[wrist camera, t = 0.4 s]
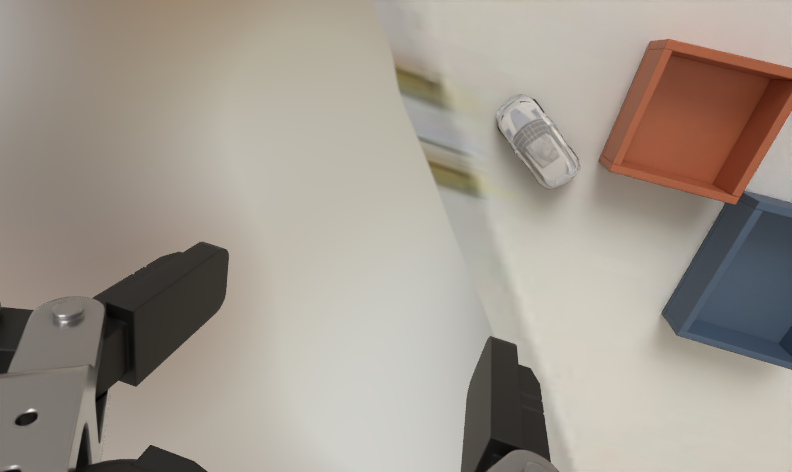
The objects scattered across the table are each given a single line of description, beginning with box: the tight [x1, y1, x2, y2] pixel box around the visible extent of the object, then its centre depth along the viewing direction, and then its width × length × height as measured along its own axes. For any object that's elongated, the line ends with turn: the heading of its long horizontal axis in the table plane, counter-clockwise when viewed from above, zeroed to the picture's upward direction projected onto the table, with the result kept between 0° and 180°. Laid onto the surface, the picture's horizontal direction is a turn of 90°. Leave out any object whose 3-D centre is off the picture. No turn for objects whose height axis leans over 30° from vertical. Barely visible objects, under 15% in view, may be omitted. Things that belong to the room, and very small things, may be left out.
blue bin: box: [662, 191, 792, 370], centre depth 34 cm, size 12×10×4 cm
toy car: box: [496, 94, 580, 189], centre depth 34 cm, size 4×8×3 cm, turn 41°
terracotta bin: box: [599, 39, 792, 205], centre depth 31 cm, size 9×9×4 cm
